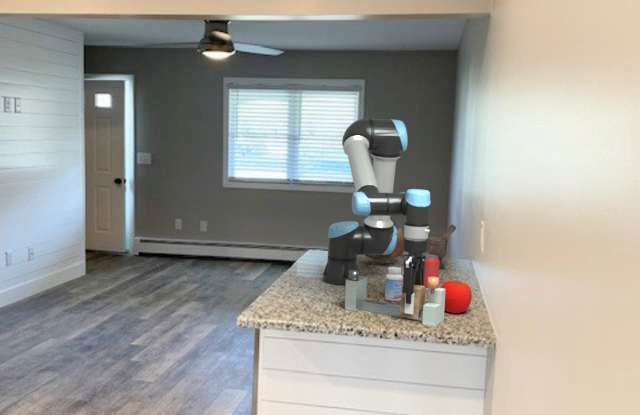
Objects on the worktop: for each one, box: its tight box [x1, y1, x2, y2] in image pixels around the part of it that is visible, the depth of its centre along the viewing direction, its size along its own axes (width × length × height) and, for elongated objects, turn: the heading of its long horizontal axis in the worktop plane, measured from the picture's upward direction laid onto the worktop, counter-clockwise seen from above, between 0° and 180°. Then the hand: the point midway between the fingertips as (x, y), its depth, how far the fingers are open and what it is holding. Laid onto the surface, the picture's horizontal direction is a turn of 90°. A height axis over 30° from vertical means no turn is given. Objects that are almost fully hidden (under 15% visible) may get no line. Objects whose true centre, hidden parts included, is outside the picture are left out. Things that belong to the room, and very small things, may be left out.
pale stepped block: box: [421, 287, 445, 327], centre depth 187 cm, size 4×9×10 cm, turn 150°
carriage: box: [400, 285, 426, 319], centre depth 191 cm, size 6×5×10 cm
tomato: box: [440, 280, 473, 314], centre depth 199 cm, size 10×11×11 cm
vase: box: [364, 216, 405, 265], centre depth 272 cm, size 23×19×30 cm
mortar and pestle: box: [427, 224, 457, 269], centre depth 270 cm, size 12×9×20 cm
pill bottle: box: [384, 266, 403, 302], centre depth 213 cm, size 6×6×11 cm
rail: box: [344, 269, 423, 322], centre depth 195 cm, size 27×8×13 cm, turn 60°
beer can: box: [424, 253, 440, 288], centre depth 234 cm, size 7×7×12 cm
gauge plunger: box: [426, 276, 440, 294], centre depth 184 cm, size 3×3×5 cm
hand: (412, 310), depth 191 cm, fingers closed on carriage, 5 cm apart
